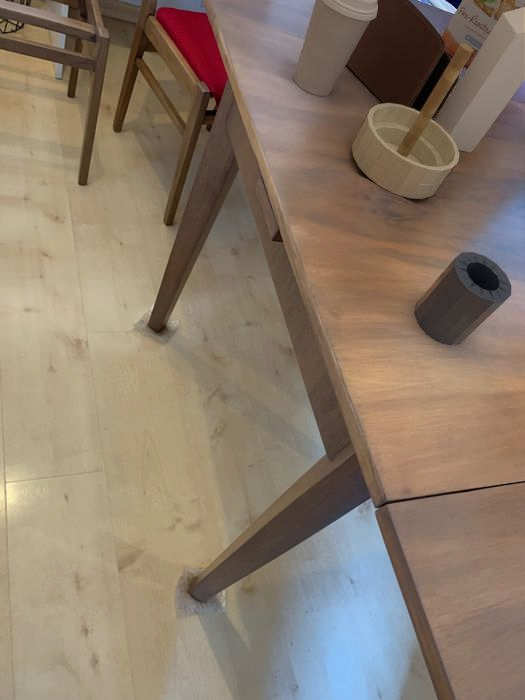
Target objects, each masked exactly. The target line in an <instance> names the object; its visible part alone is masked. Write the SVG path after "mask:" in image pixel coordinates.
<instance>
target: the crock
mask: <svg viewBox="0 0 525 700" xmlns="http://www.w3.org/2000/svg"><path fill="white" fill-rule="evenodd" d="M511 296H512V284H511V281H510V280H509V277H508V274H507V273H505V271H504V270H503V269H502V267H500V266H499V264H498V263H496V262H495V261H493V260H492V259H490V258H489V257H487V256H486V255H484V254H480V253H477V252H474V251H465V252H464V251H463V252H461V253H459V254H458V255H456V256H455V258H454V259H452V261H451V262H450V263H449V264H448V266H447V267H446V268H445V269H444V270H443V271H442V273H440V275H439V276H438V277H437V278H436V279H435V281H434V282H433V283H432V284H431V286H430V287H429V288H428V289H427V290H426V291H425V292H424V293H423V295H421V296H420V298H419V299H418V301H416V303H415V307H414V316H415V320H416V321H417V324H418V325H419V327H420V329H422V331H423V332H424V333H425V334H426V335H427V336H428V337H430V338H431V339H433V340H434V341H436V342H438V343H441V344H444V345H447V346H448V345H449V346H455V345H460V344H462V343H463V342H464V341H465V340H466V339H467V338H468V337H469V336H470V335H471V334H472V333H474V332H475V330H477V328H479V326H481V325H482V324H483V323H484V322H485V321H486V320H487V319H488V318H489V317H490V316H492V314H493V313H494V312H495V311H497V310H498V309H499V308H500V307H501V306H502V305H503V304H504V303H505V302H506V301H507V300H508V299H509V298H510V297H511Z"/></svg>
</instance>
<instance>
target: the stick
mask: <svg viewBox="0 0 525 700" xmlns="http://www.w3.org/2000/svg"><path fill="white" fill-rule="evenodd" d="M472 53H473V49H472V48H471V47H470V46H469V45H467V44H463V43H462V44H461V45H460V46H459V48H458V50H457V51H456V53H455V55H454V56H453V57H452V58H451V61H450V63H449V64H448V66H447V68H446V69H445V71H444V73H443V74H442V76H441V78H440V79H439V81H438V83H437V84H436V86H435V88H434V89H433V91H432V93H431V94H430V96H429V98H428V99H427V101H426V103H425V104H424V106H423V108H422V109H421V111H420V113H419V114H418V116H417V118H416V119H415V121H414V123H413V124H412V126H411V128H410V129H409V131H408V133H407V134H406V136H405V138H404V139H403V141H402V143H401V144H400V146H399V148H398V149H397V151H396V152H397V153H399V154H400V155H402V156H404V157H406V158H407V156H408V155H409V153H410V152H411V150H412V148H413V147H414V145H415V144H416V142H417V140H418V139H419V137H420V136H421V134H422V133H423V131H424V129H425V128H426V126H427V125H428V123H429V121H430V120H431V119H432V118H433V117H434V116H433V115H434V113H435V112H436V110H437V109H438V107H439V105H440V104H441V102H442V101H443V99H444V97H445V96H446V94H447V93H448V91H449V89H450V88H451V86H452V85H453V83H454V81H455V80H456V78H457V77H458V75H459V76H460V74H461V72H462V70H463V69H464V67H465V64H466V62H467V61H468V59H469V57H470V56H471V54H472Z"/></svg>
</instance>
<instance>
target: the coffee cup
mask: <svg viewBox="0 0 525 700" xmlns="http://www.w3.org/2000/svg"><path fill="white" fill-rule="evenodd" d="M377 1H378V0H315V2H314V5H313V8H312V12H311V15H310V20H309V22H308V26H307V30H306V33H305V37H304V40H303V42H302V43H303V44H302V47H301V50H300V54H299V57H298V61H297V64H296V67H295V71H294V75H293V80H294V81H295V83H296V84H297V86H298V87H300V89H302V90H303V91H305V92H307V93H309V94H311V95H314V96H317V97H326V96H329V95H330V94H332V93H331V92H332V91H333V90H334V88H335V85H336V84H337V82H338V80H339V78H340V76H341V74H342V73H343V71H344V69H345V67H347V65H346V64H347V62H348V60H349V58H350V56H351V55H352V53H353V51H354V49H355V47H356V46H357V44H358V42H359V40H360V38H361V37H362V35H363V33H364V31H365V29H366V28H367V26H368V24H369V22H370V21H371V20H373V19H375V18H376V16H377V11H378V5H377Z"/></svg>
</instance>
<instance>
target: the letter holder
mask: <svg viewBox="0 0 525 700" xmlns="http://www.w3.org/2000/svg"><path fill="white" fill-rule="evenodd" d="M377 5H378V11H377V16H376V18H375V19H373V20H371V21H370V22H369V24H368V26H367V28H366V29H365V31H364V33H363V35H362V37H361V38H360V40H359V42H358V44H357V46H356V47H355V49H354V51H353V53H352V55H351V56H350V58H349V60H348V62H347V64H346V67H347V68H348V69H349V70H350V71H351V72H352V73H353V74H354V75H355V76H356V77H357V78H358V79H359V80H360V81H361V83H363V84H364V86H365V87H366V88H367V89H368V90H369V91H370V92H371V93H372V95H374V96H375V97H376V98H377V99H378V100H379V102H381V104H384V103H393V104H400V105H404V106H407V107H410V108H413V109H415V110H417V111H419V112H420V111H421V109H422V108H423V106H424V104H425V103H426V101H427V99H428V98H429V96H430V94H431V93H432V91H433V89H434V88H435V86H436V84H437V83H438V81H439V79H440V78H441V76H442V74H443V73H444V71H445V69H446V68H447V66H448V64H449V63H450V61H451V60H452V58H451V56H450V55H449V54H447V52H446V51H445V42H444V40H443V38H442V35H441V34H440V33H439V32H438V29H436V27H435V26H434V25H433V23H431V22H430V20H429V19H428V18H427V17H426V16H425V15H424V14H423V13H422V12H421V11H420V10H419V8H418V7H417V6H416V5H415V4H414V3H413V2H411V0H378V1H377ZM459 81H460V74H459V75H458V77H457V78H456V80H455V81H454V83H453V85H452V86H451V88H450V89H449V91H448V93H447V94H446V96H445V97H444V99H443V101H442V102H441V104H440V105H439V107H438V109H437V110H436V112H435V113H434V115H433V117H437V116H438V115H439V113H440V112H441V110H442V108H443V107H444V105H445V104H446V102H447V101H448V99H449V97H450V96H451V94H452V93H453V91H454V89H455V88H456V86H457V85H458V83H459Z"/></svg>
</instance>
